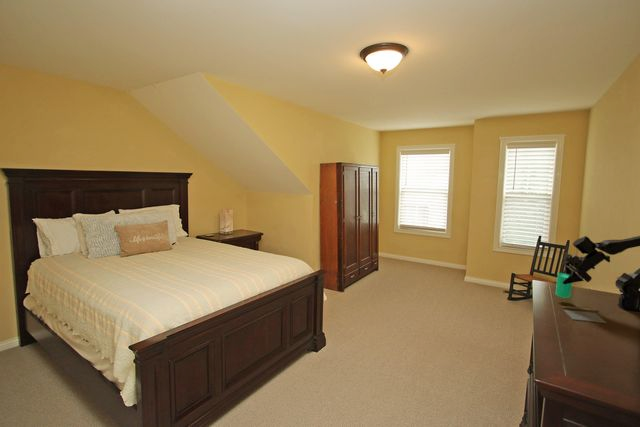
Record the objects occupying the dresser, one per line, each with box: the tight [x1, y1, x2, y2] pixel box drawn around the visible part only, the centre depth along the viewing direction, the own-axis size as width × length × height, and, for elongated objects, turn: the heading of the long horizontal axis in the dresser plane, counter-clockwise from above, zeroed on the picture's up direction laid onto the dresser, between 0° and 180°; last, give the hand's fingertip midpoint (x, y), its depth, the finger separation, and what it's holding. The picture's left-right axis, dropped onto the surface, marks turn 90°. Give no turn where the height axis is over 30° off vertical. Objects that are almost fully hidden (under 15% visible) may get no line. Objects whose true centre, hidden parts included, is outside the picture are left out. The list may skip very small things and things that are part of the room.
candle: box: [555, 272, 573, 299], centre depth 162 cm, size 6×6×12 cm
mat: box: [562, 309, 607, 324], centre depth 146 cm, size 12×10×1 cm
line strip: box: [561, 305, 599, 312], centre depth 154 cm, size 14×2×1 cm, turn 73°
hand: (561, 281), depth 162 cm, fingers closed on candle, 5 cm apart
